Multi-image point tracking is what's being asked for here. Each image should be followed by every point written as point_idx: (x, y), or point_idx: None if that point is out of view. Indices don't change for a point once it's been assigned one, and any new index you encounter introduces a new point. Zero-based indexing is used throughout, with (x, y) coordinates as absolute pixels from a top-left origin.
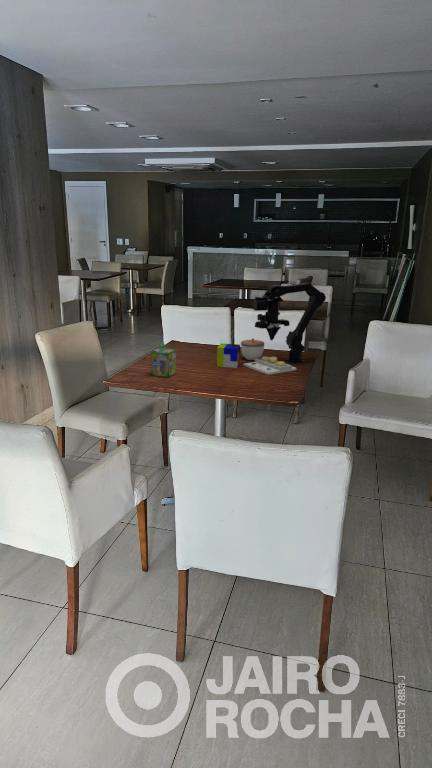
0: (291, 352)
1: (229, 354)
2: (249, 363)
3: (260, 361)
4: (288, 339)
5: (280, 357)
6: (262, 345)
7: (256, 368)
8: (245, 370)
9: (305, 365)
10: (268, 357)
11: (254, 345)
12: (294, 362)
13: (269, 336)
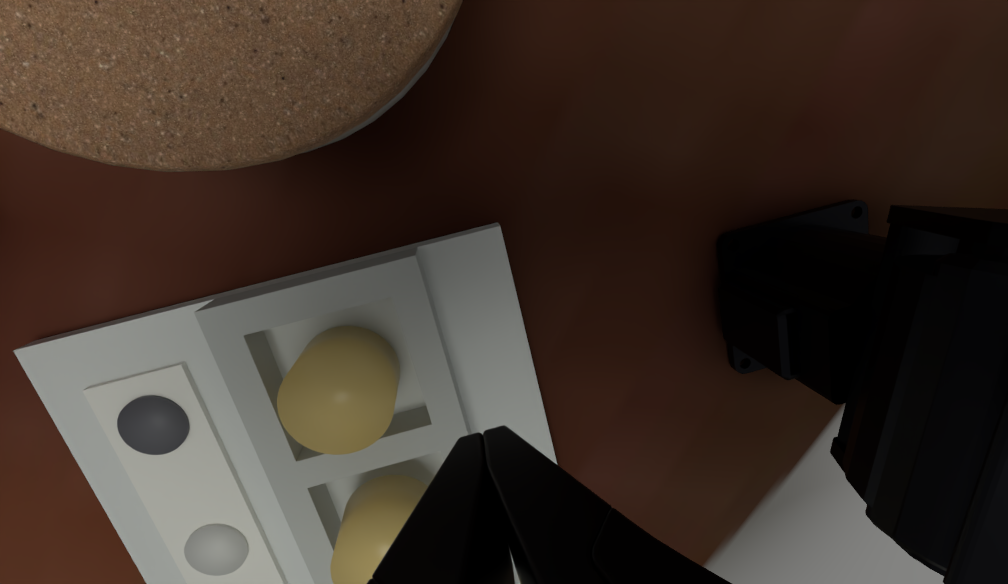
0: (804, 344)
1: None
2: (94, 392)
3: (249, 425)
4: (987, 398)
5: (737, 33)
6: (361, 121)
7: (145, 577)
8: (15, 548)
9: (773, 469)
10: (374, 426)
11: (98, 161)
12: (731, 363)
13: (421, 517)
